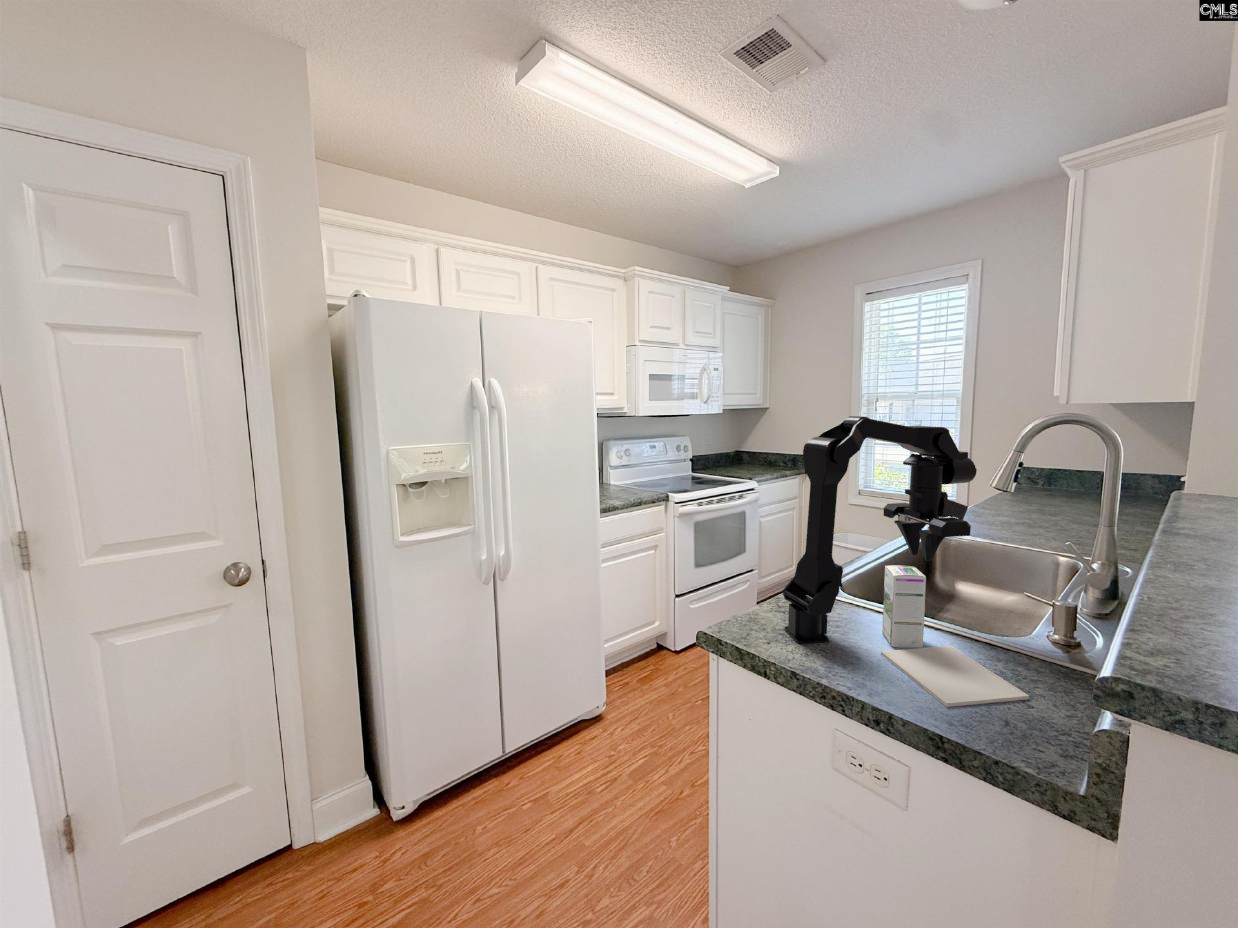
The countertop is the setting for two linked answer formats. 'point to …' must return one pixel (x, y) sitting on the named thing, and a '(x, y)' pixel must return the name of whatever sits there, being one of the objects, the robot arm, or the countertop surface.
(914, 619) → the syrup box
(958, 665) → the rubber mat
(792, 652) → the countertop surface
